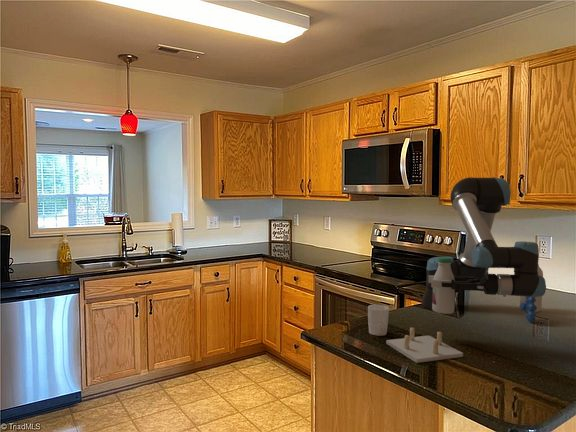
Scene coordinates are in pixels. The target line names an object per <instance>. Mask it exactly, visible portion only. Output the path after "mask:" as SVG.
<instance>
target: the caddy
mask: <svg viewBox="0 0 576 432" xmlns="http://www.w3.org/2000/svg"><path fill="white" fill-rule="evenodd" d="M415 330H416V329H415V327H409V335H408V334H405V335H404V337H403V338H394V339H393V338H392V339H387V340H386V341H385V343H386V345H388V346H389V347H390V348H393V349H394V350H395V351H397V352H398V353H400V354H402V355H403V356H405V357H407V358H408V359H410V360H411V361H413V362H414V363H416V364H419V363H425V362H433V361H434V362H435V361H441V360H447V359H448V360H449V359H457V358H462V357H463V358H464V353H463V352H462V351H460V350H458V349H456V348H454V347H452V346H451V345H448V344H446V343H444V342H443V332H442V331H437V332H436V338H435V337H433V336H431V335H421V336H415V334H416V333H415Z"/></svg>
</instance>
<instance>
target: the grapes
mask: <svg viewBox="0 0 576 432" xmlns="http://www.w3.org/2000/svg"><path fill="white" fill-rule="evenodd" d="M526 299H527V300H526V301H525V303H522V304H521V305H520V304H519V306H518V307H519V308H520V309H521V311H524V310H525V311H524V313H525V314H526V316H525V319H526V320H527V321H528V323H533V322H534V321H535V320H536V318H535V317H536V316H537V314H536V312H534V311H535V310H536V309H537V307H536V306H535V305H534V302H535V301H536V299H535V297H526Z"/></svg>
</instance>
